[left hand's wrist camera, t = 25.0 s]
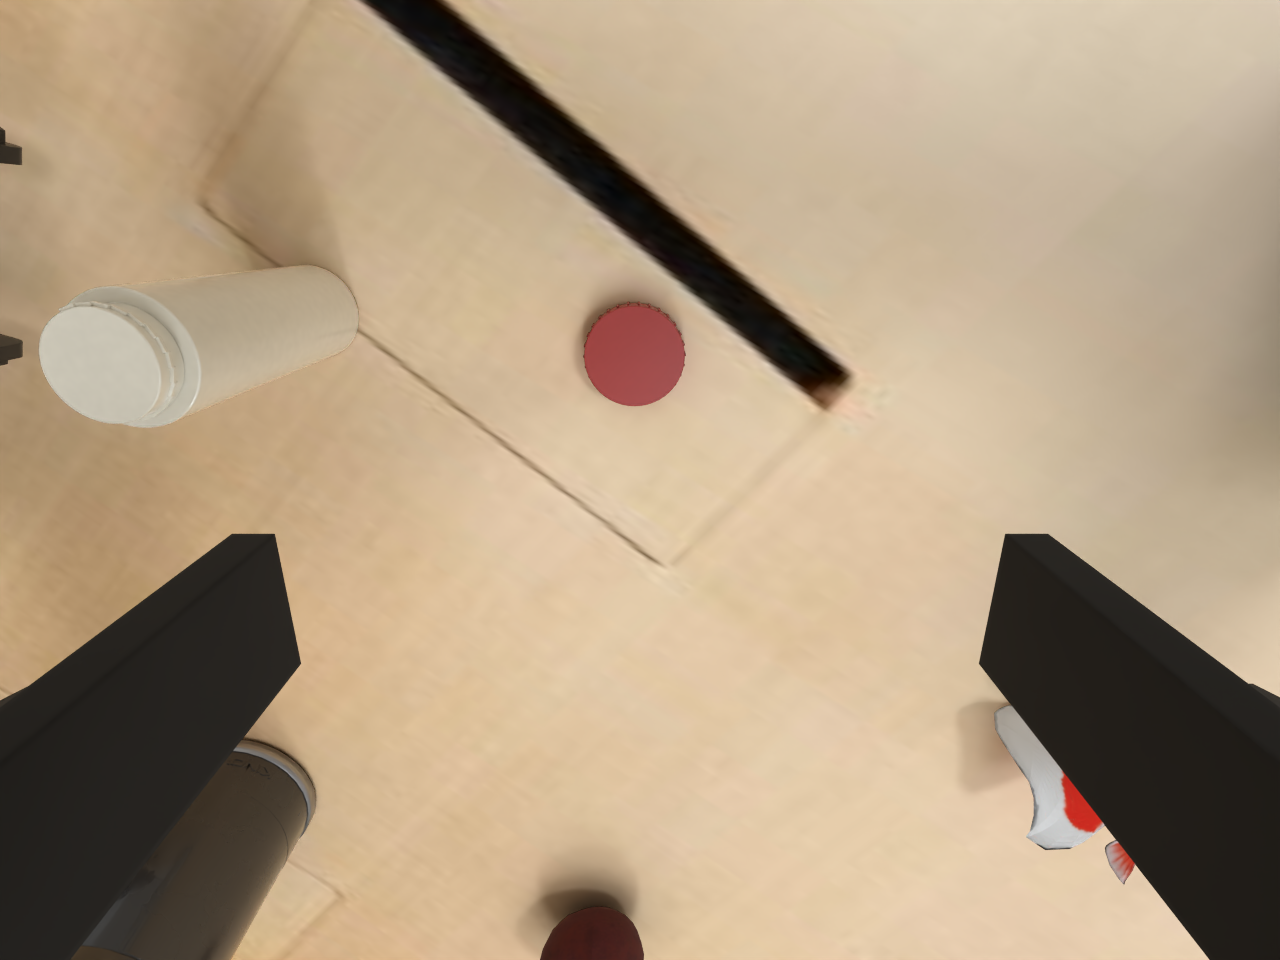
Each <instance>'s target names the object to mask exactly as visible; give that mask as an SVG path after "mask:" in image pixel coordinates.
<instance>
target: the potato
mask: <svg viewBox="0 0 1280 960" xmlns="http://www.w3.org/2000/svg"><path fill="white" fill-rule="evenodd" d="M540 960H644V953H643V948H642V944H641V940H640V937H639V934H638V931H637V929H636V928H635V926H634V924H633V922H632V921H631V920H630V919H628V918H627V917H626V916H625V915H624V914H622V913H620V912H619V911H616V910H614V909H612V908H608V907H589V908H586V909H583V910H580V911H577V912H575V913H572V914H569V915H568V916H567V917H565V918H564V919H563V920H562V921H561V922H560V923H559V924H558V925H557V926H556V927H555V928H554V929H553V930H552V932H551V934H550V936H549V938H548V940H547V942H546V944H545V946H544V948H543V951H542V955H541V959H540Z"/></svg>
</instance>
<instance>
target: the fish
mask: <svg viewBox="0 0 1280 960" xmlns="http://www.w3.org/2000/svg"><path fill="white" fill-rule="evenodd" d="M994 717H995V729H996V731H997V733H998V735H999V737H1000V739H1001V740H1002V742H1003V743H1004V745H1005V746H1006V748H1007V750H1008V751H1009V753H1010V754H1011V756H1012V757H1013V759H1014V760H1015V762H1016V764H1017V765H1018V767H1019V768H1020V770H1021V771H1022V772H1023V774H1024V775H1025V777H1026V778H1027V780H1028V781H1029V783H1030V787H1031V790H1032V793H1033V797H1034V817H1033V821H1032V825H1031V830H1030V832H1029V833H1028V835H1027V836H1026V837H1027V838H1028V839H1030V840H1031V841H1033V842H1034V843H1036V844H1037V845H1039V846H1040V847H1042V848H1043V849H1045V850H1054V849H1070V848H1072V847H1075V846H1077V845H1079V844H1081V843H1083V842H1084V841H1086V840H1087V839H1088V838H1090V837H1091V836H1092V835H1094V834H1095V833H1096V832H1098V831H1099V830H1100V829H1101V828H1102V827H1104V826H1105V825H1104V823H1103V822H1102V821H1101V820H1100V818H1099V817H1098V816H1097V815H1096V813H1095V812H1094V811H1093V809H1092V808H1091V807H1090V806H1089V804H1088V803H1087V802H1086V800H1085V799H1084V798H1083V797H1082V795H1081V794H1080V793H1079V791H1078V790H1077V789H1076V788H1075V786H1074V785H1073V784H1072V782H1071V781H1070V780H1069V779H1068V777H1067V776H1066V775H1065V773H1064V772H1063V771H1062V770H1061V768H1060V767H1059V766H1058V764H1057V763H1056V762H1055V761H1054V759H1053V758H1052V757H1051V755H1050V754H1049V753H1048V752H1047V750H1046V749H1045V748H1044V746H1043V745H1042V744H1041V743H1040V741H1039V740H1038V739H1037V737H1036V736H1035V735H1034V734H1033V732H1032V731H1031V730H1030V729H1029V727H1028V726H1027V725H1026V723H1025V722H1024V721H1023V720H1022V718H1021V717H1020V716H1019V714H1018V713H1017V712H1016V711H1015V709H1014V708H1013V707H1012V705H1011V706H1005V707H1002V708H1000V709H998V710H997V711H996V712H995V713H994ZM1105 852H1106V855H1107V858H1108V861H1109V864H1110V866H1111V868H1112V869H1113V871H1114V872H1115V874H1116V875H1117V877H1118V878H1119V880H1120V881H1121V882H1122V883H1123V884H1125V881H1126V879H1127V878H1128V877H1129V875H1130V874H1131V872H1132V871H1133V868H1134V866H1135V863H1134V862H1133V861H1132V859H1131V858H1130V857H1129V856H1128V854H1127V853H1126V852H1125V850H1124V849H1123V848H1122V847H1121V845H1120V844H1119V843H1118V841H1117V840H1115V841H1113V842H1111V843H1109V844H1108V845H1106V847H1105Z"/></svg>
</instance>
